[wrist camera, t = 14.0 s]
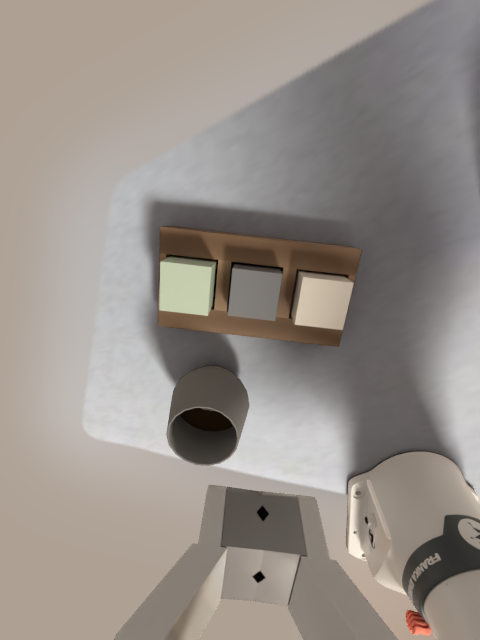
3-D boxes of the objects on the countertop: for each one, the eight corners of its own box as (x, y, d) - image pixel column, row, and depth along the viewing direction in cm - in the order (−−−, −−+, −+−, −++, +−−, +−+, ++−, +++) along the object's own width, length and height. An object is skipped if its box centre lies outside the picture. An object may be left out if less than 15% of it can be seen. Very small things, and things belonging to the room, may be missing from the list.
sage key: (213, 303, 35) (207, 315, 31) (170, 298, 35) (159, 310, 31) (216, 260, 34) (211, 267, 29) (171, 255, 34) (160, 261, 29)
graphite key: (272, 308, 36) (275, 321, 32) (230, 304, 36) (227, 315, 32) (278, 266, 34) (282, 274, 30) (235, 261, 34) (232, 268, 30)
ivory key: (332, 316, 36) (342, 330, 31) (289, 311, 36) (294, 324, 31) (341, 274, 34) (353, 282, 30) (297, 269, 34) (303, 277, 30)
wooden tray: (332, 336, 38) (339, 346, 35) (165, 317, 38) (158, 325, 35) (352, 247, 34) (361, 250, 31) (167, 225, 34) (160, 226, 31)
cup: (173, 357, 40) (148, 402, 30) (244, 350, 39) (241, 393, 30) (186, 418, 43) (168, 475, 33) (252, 412, 42) (252, 469, 33)
